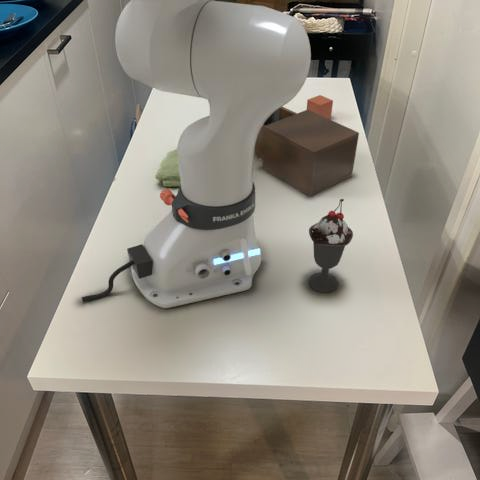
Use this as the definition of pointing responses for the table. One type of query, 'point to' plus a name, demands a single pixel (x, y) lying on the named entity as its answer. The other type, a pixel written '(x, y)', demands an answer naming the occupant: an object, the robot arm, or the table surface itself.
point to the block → (320, 106)
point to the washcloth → (170, 170)
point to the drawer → (274, 117)
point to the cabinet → (309, 151)
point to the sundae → (328, 248)
